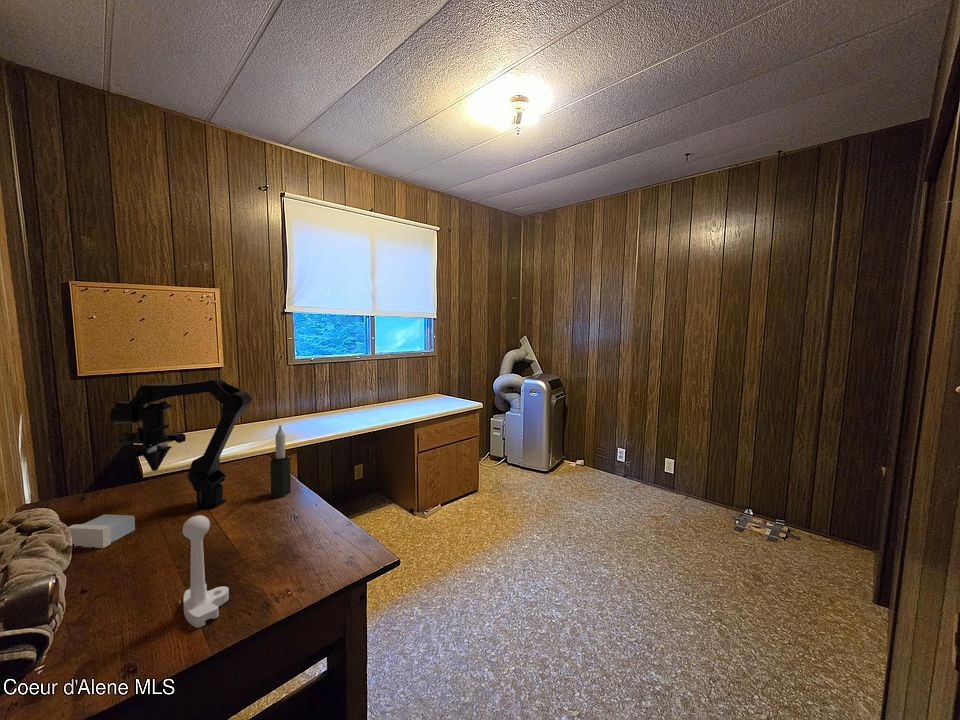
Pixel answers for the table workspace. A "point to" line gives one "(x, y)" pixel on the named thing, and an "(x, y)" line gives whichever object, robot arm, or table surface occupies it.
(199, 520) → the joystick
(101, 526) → the wall
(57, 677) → the table surface
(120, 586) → the table surface
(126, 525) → the sled
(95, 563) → the table surface
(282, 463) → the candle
